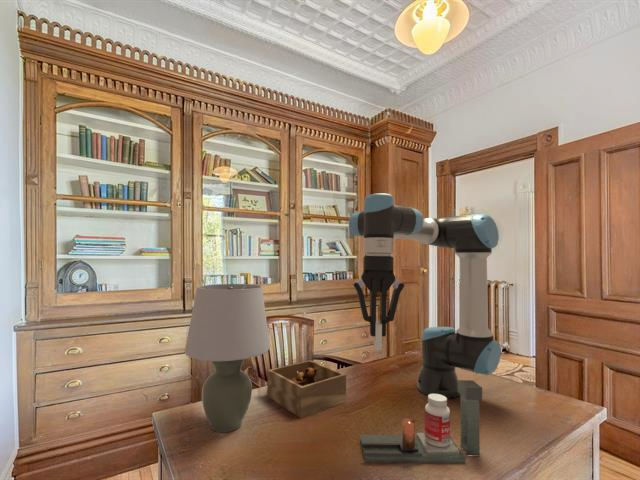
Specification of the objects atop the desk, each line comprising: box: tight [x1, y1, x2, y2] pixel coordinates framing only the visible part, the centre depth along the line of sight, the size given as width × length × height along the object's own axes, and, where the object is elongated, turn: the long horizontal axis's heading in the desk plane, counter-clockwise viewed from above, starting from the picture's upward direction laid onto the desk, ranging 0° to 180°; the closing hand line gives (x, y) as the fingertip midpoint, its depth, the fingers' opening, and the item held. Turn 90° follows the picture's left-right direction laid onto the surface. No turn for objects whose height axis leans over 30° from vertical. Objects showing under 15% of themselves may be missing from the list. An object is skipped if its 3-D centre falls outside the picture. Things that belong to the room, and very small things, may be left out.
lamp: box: [184, 283, 271, 433], centre depth 98 cm, size 24×24×40 cm
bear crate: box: [266, 359, 347, 419], centre depth 115 cm, size 20×19×9 cm
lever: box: [399, 418, 418, 452], centre depth 82 cm, size 4×3×7 cm
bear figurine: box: [292, 367, 317, 386], centre depth 115 cm, size 14×15×12 cm
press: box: [360, 379, 483, 464], centre depth 85 cm, size 30×10×17 cm, turn 91°
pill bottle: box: [424, 394, 451, 447], centre depth 86 cm, size 6×6×11 cm
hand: (377, 349), depth 83 cm, fingers closed
